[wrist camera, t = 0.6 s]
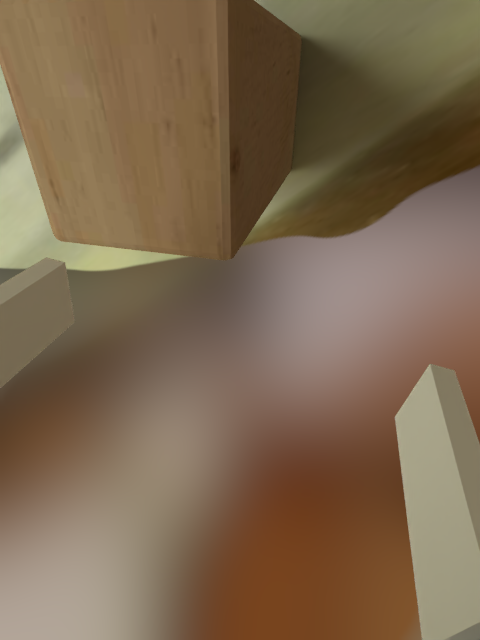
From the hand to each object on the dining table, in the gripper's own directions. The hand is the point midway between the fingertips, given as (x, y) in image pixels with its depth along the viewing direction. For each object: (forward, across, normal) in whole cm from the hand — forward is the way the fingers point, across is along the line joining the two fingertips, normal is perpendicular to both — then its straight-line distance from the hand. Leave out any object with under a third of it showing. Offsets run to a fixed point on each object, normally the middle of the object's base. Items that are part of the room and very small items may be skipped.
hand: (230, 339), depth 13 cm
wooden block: (+25, -7, +4) cm, 26 cm away
